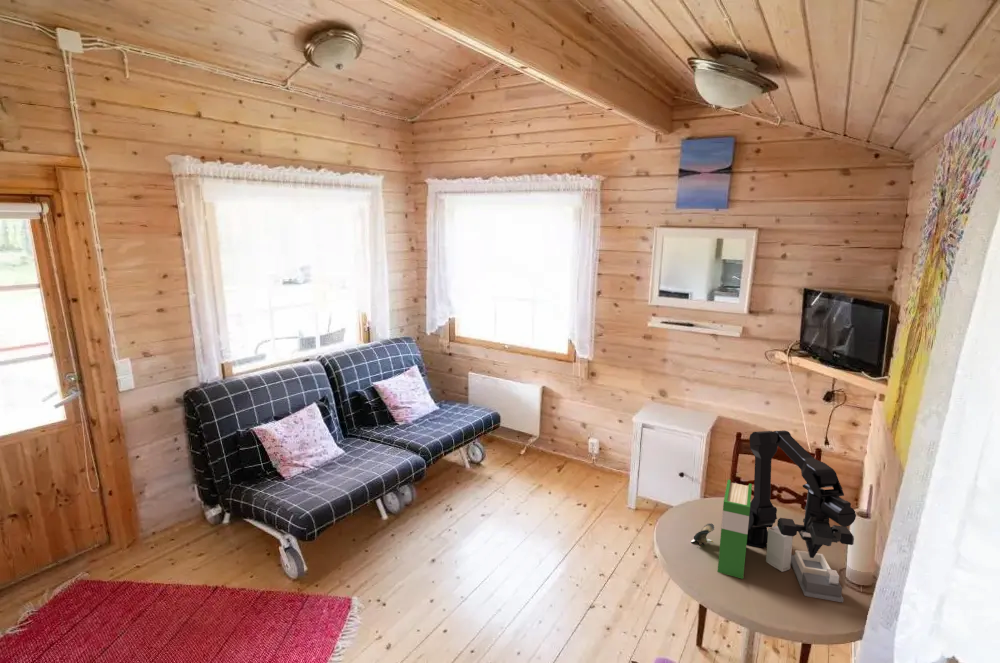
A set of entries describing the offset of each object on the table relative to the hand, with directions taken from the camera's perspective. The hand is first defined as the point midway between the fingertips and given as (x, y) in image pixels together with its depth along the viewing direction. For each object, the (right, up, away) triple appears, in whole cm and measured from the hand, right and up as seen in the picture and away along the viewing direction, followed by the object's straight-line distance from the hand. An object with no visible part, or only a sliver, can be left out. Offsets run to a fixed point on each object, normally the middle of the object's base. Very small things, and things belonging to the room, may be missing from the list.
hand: (811, 557), depth 155 cm
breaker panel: (+5, -10, +7) cm, 13 cm away
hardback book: (-16, -8, +16) cm, 25 cm away
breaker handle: (+6, -7, -1) cm, 9 cm away
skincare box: (-3, -9, +14) cm, 17 cm away
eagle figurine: (-24, -7, +23) cm, 34 cm away
